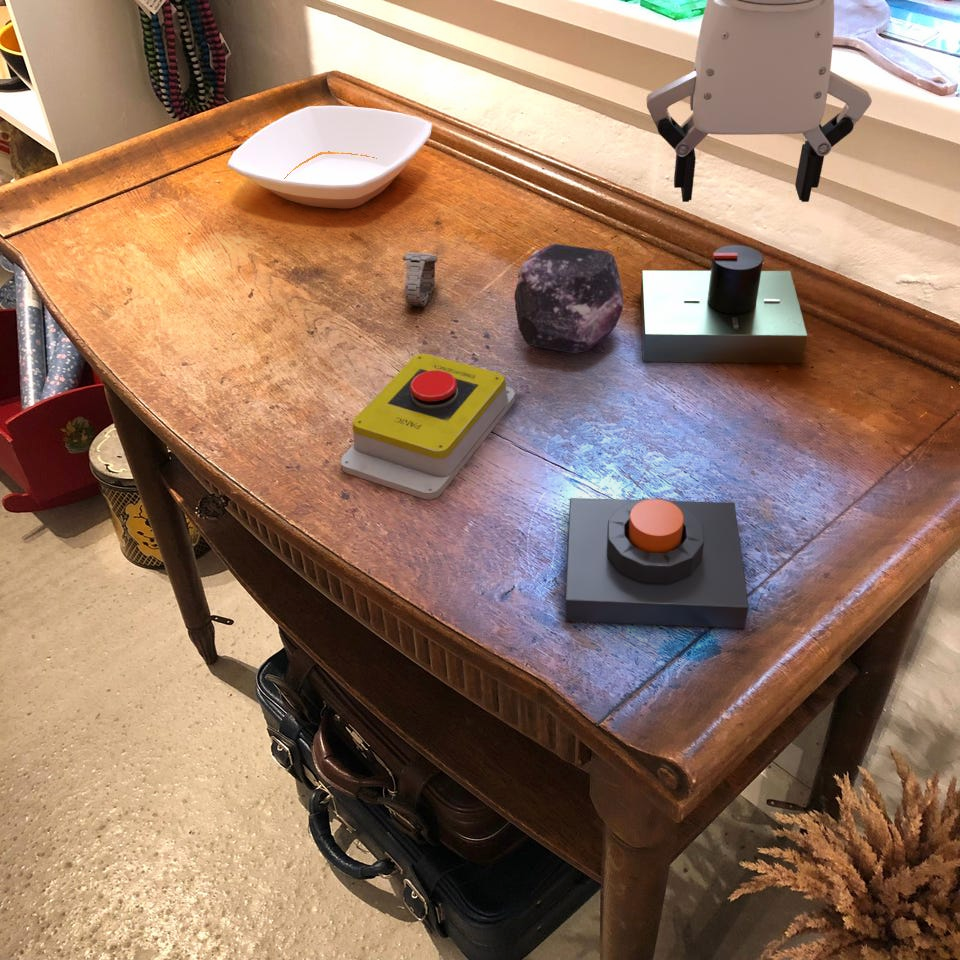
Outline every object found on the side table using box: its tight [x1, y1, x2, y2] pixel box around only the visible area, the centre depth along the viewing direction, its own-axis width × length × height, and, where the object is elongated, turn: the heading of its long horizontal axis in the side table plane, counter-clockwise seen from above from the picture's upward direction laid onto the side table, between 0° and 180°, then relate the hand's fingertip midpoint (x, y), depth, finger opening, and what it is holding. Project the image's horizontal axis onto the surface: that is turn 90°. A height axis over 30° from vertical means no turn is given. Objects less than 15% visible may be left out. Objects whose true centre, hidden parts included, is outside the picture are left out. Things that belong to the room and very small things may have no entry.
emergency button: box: [340, 353, 517, 500], centre depth 81 cm, size 9×4×15 cm
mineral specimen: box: [513, 243, 624, 354], centre depth 88 cm, size 10×10×10 cm
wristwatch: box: [402, 252, 438, 307], centre depth 96 cm, size 4×6×5 cm, turn 168°
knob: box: [707, 244, 764, 314], centre depth 87 cm, size 4×4×5 cm
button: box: [629, 498, 684, 553], centre depth 66 cm, size 4×4×2 cm
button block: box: [564, 497, 750, 629], centre depth 68 cm, size 12×10×4 cm
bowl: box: [226, 105, 433, 209], centre depth 117 cm, size 22×22×5 cm
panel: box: [640, 270, 808, 365], centre depth 90 cm, size 14×11×3 cm
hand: (743, 194), depth 82 cm, fingers open, 9 cm apart
